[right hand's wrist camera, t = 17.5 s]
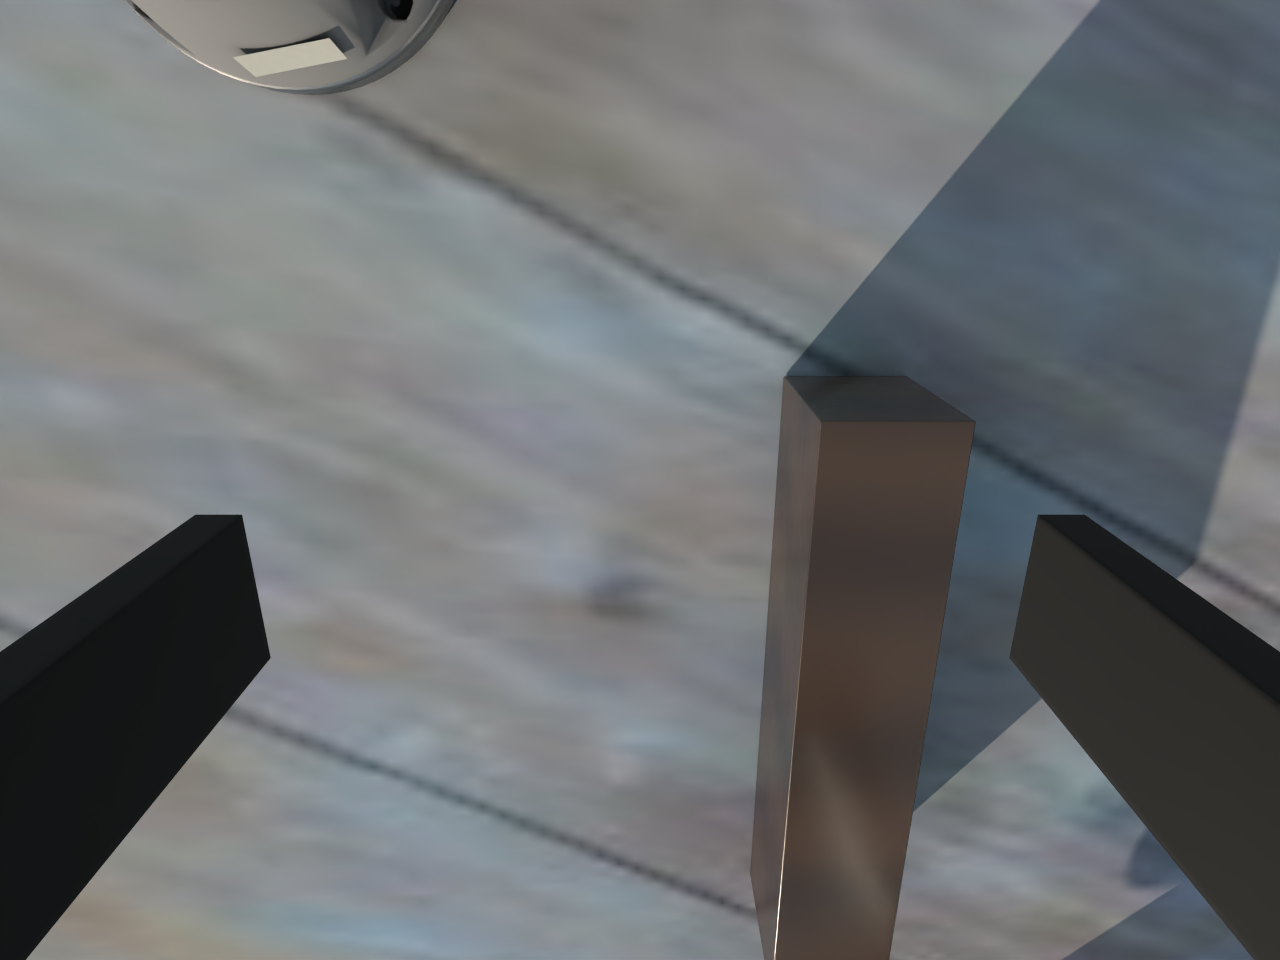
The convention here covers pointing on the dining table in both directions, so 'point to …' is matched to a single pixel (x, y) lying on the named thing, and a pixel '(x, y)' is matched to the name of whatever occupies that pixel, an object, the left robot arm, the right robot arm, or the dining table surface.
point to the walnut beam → (850, 654)
